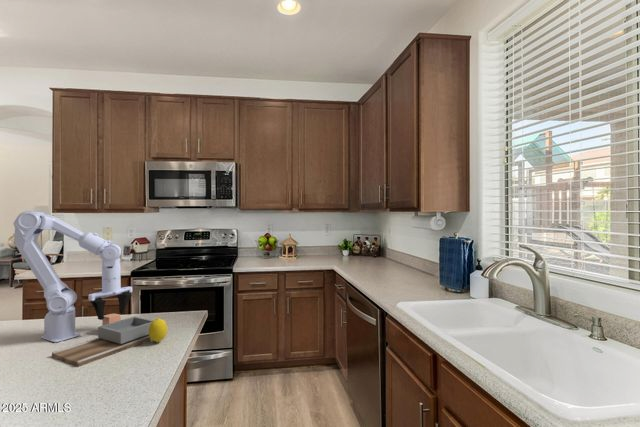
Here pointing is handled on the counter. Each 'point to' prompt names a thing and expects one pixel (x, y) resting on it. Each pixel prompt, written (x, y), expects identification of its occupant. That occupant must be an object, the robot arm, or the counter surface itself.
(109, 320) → the block
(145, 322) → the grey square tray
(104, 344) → the track
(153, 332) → the lemon
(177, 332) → the counter surface
